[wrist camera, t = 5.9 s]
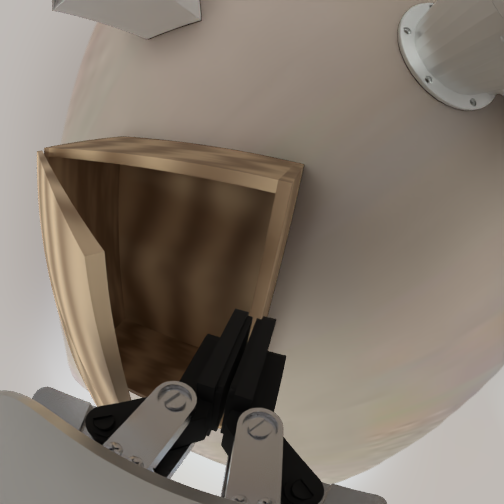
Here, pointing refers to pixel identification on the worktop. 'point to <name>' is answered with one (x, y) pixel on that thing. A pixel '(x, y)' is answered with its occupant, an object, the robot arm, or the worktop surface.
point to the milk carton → (134, 14)
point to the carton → (179, 240)
